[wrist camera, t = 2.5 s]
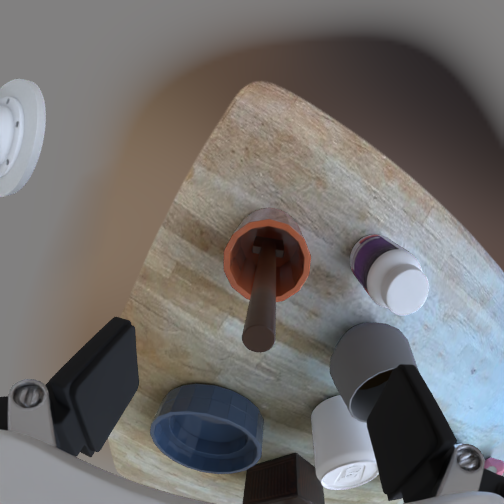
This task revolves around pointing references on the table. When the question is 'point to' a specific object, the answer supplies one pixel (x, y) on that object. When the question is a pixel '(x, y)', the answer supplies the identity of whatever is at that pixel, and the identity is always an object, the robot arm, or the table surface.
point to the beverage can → (341, 447)
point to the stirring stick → (263, 296)
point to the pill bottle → (389, 274)
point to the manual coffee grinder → (283, 482)
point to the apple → (494, 465)
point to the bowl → (209, 429)
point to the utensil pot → (245, 262)
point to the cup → (367, 364)
